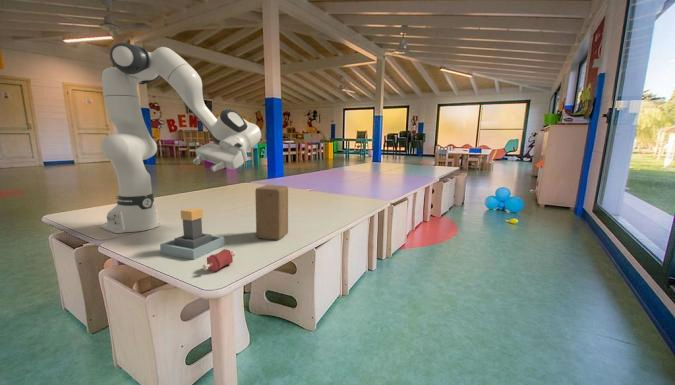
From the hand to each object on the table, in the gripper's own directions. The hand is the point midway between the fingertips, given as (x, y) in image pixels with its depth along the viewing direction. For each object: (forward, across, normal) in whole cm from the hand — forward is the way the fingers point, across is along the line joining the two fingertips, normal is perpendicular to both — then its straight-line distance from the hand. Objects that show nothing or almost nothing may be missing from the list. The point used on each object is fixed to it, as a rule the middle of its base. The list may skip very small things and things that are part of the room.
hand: (203, 166), depth 104 cm
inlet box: (+22, +12, +18) cm, 30 cm away
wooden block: (-2, +26, +27) cm, 37 cm away
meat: (+25, +30, +12) cm, 41 cm away
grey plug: (+22, +12, +18) cm, 30 cm away
